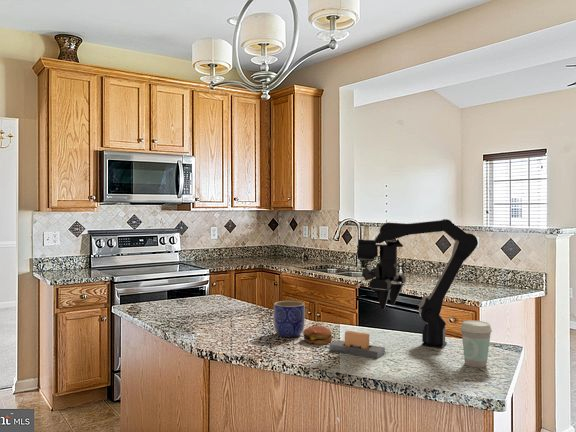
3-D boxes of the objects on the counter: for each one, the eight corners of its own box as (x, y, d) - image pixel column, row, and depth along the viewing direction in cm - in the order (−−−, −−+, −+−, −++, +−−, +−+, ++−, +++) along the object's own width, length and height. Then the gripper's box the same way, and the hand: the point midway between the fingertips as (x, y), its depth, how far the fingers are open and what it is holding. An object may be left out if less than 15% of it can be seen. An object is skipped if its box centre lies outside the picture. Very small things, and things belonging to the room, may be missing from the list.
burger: (327, 337, 178) (328, 323, 178) (335, 344, 169) (335, 330, 169) (300, 338, 176) (300, 325, 176) (306, 345, 167) (306, 331, 167)
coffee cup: (455, 360, 151) (455, 320, 151) (482, 359, 152) (483, 319, 152) (467, 369, 143) (468, 326, 143) (497, 368, 144) (497, 326, 143)
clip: (369, 353, 158) (369, 333, 158) (366, 354, 156) (366, 335, 156) (348, 349, 162) (348, 330, 162) (344, 351, 160) (344, 332, 160)
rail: (384, 353, 158) (384, 347, 158) (377, 358, 153) (377, 352, 153) (337, 346, 166) (337, 340, 166) (329, 350, 161) (329, 344, 161)
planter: (311, 334, 181) (311, 303, 181) (290, 340, 173) (290, 307, 173) (288, 329, 188) (288, 299, 188) (267, 335, 180) (267, 303, 180)
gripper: (375, 256, 183) (375, 300, 183) (354, 261, 167) (353, 308, 167) (406, 258, 177) (405, 303, 177) (386, 263, 161) (386, 312, 161)
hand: (387, 306), depth 171 cm, fingers open, 9 cm apart
